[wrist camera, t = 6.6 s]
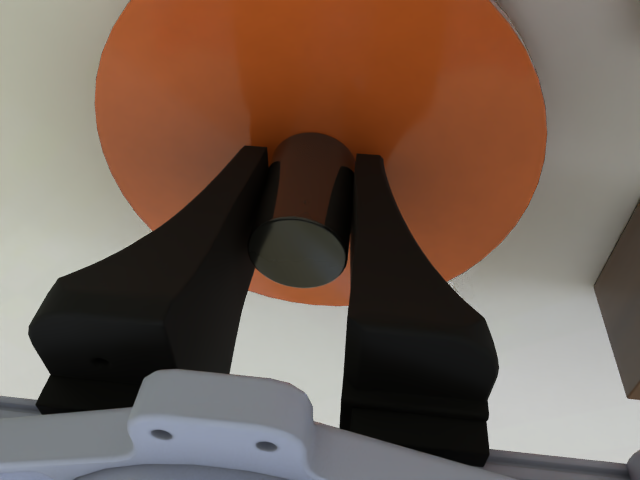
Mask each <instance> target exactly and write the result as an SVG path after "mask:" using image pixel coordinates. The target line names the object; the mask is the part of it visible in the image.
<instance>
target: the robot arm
mask: <svg viewBox="0 0 640 480" xmlns="http://www.w3.org/2000/svg"><path fill="white" fill-rule="evenodd" d="M268 169H269V166H268V152H267V147H261V146H247V145H245V146H244V147H242V148H241V149H240V150H239V152H238V153H237V154H236V155H235V156H234V157H233V158H232V160H231V161H230V162H229V163H228V164H227V165H226V166H225V167H224V169H223V170H222V171H221V172H220V173H219V174H218V175H217V176H216V177H215V178H214V179H213V180H212V181H211V182H210V183H209V184H208V185H207V186H206V187H205V188H204V189H203V190H202V191H201V192H200V193H199V194H198V195H197V196H196V197H195V198H194V199H193V200H192V201H191V202H189V203H188V204H187V205H186V206H185V207H184V208H183V209H182V210H180V211H179V212H178V213H177V214H176V215H174V216H173V217H172V218H171V219H169V220H168V221H167V222H165V223H164V224H163V225H161V226H160V227H158V228H157V229H156V230H154V231H152V232H151V233H149V234H148V235H146V236H144V237H143V238H141V239H140V240H138V241H136V242H135V243H133V244H132V245H130V246H128V247H126V248H125V249H123V250H121V251H119V252H117V253H115V254H113V255H111V256H109V257H107V258H105V259H103V260H101V261H99V262H97V263H95V264H92V265H90V266H88V267H85V268H83V269H80V270H78V271H76V272H73V273H71V274H68V275H66V276H63V277H60V278H58V280H57V281H56V283H55V284H54V285H53V287H52V288H51V290H50V291H49V292H48V294H47V296H46V298H45V299H44V301H43V303H42V304H41V306H40V308H39V309H38V311H37V313H36V315H35V316H34V318H33V320H32V322H31V323H30V325H29V332H28V335H29V337H30V340H31V342H32V344H33V346H34V348H35V350H36V351H37V353H38V355H39V356H40V358H41V359H42V361H43V363H44V364H45V366H46V368H47V369H48V371H49V373H50V374H51V375H50V377H49V379H48V381H47V383H46V385H45V386H44V388H43V390H42V392H41V394H40V396H39V398H38V400H33V399H24V398H15V397H6V396H0V480H640V450H639V451H637V452H636V453H634V454H633V455H632V457H631V458H630V459H629V461H628V462H627V464H622V463H613V462H604V461H595V460H585V459H576V458H567V457H558V456H549V455H539V454H530V453H521V452H512V451H503V450H493V449H489V442H488V433H487V423H486V421H487V420H488V418H489V410H488V398H489V395H490V393H491V391H492V388H493V386H494V383H495V381H496V379H497V376H498V370H499V364H498V357H497V353H496V349H495V346H494V342H493V339H492V336H491V333H490V331H489V328H488V326H487V323H486V321H485V318H484V317H483V316H481V315H480V314H479V313H478V312H477V311H476V310H475V309H473V308H472V307H471V306H470V305H469V304H468V303H467V302H465V301H464V300H463V299H462V298H461V297H460V296H459V295H458V294H457V293H456V292H455V291H454V290H453V289H452V288H451V287H450V285H449V284H448V283H447V282H446V281H445V279H444V278H443V277H442V276H441V275H440V274H439V272H438V271H437V270H436V269H435V268H434V266H433V265H432V264H431V262H430V261H429V260H428V258H427V257H426V255H425V254H424V253H423V251H422V250H421V248H420V247H419V245H418V243H417V242H416V240H415V239H414V237H413V235H412V234H411V232H410V230H409V228H408V226H407V224H406V222H405V221H404V219H403V217H402V215H401V212H400V210H399V208H398V206H397V203H396V201H395V199H394V196H393V194H392V191H391V188H390V185H389V182H388V179H387V176H386V172H385V167H384V160H383V158H382V157H381V156H380V155H372V154H358V153H357V154H356V161H355V169H354V185H353V212H352V224H351V234H350V299H349V307H348V316H347V331H346V346H345V361H344V376H343V387H342V397H341V413H340V429H339V428H336V427H332V426H329V425H325V424H322V423H318V422H315V421H313V406H312V404H311V402H310V400H309V398H308V396H307V395H306V394H305V393H304V392H303V391H301V390H300V389H298V388H297V387H295V386H293V385H292V384H290V383H287V382H283V381H279V380H275V379H271V378H262V377H252V376H242V375H232V374H229V373H230V368H231V362H232V357H233V352H234V347H235V341H236V336H237V332H238V327H239V322H240V317H241V312H242V309H243V305H244V301H245V298H246V295H247V292H248V289H249V286H250V283H251V280H252V277H253V274H254V270H255V266H254V265H253V264H252V262H251V260H250V258H249V255H248V251H247V243H248V238H249V235H250V231H251V228H252V224H253V221H254V217H255V214H256V210H257V207H258V203H259V200H260V197H261V193H262V190H263V186H264V183H265V179H266V176H267V172H268Z"/></svg>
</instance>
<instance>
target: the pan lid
mask: <svg viewBox="0 0 640 480" xmlns="http://www.w3.org/2000/svg"><path fill="white" fill-rule="evenodd" d="M95 112H96V123H97V130H98V134H99V138H100V142H101V146H102V150H103V154H104V156H105V159H106V161H107V164H108V166H109V169H110V171H111V174H112V176H113V177H114V179H115V181H116V183H117V185H118V186H119V188H120V190H121V192H122V194H123V195H124V197H125V198H126V199H127V201H128V202H129V204H130V205H131V206H132V208H133V209H134V211H135V212H136V213H137V215H138V216H139V217H140V218H141V219H142V220H143V221H144V222H145V223H146V225H147V226H148V227H149V228H150V229H151V230H152V231H154V230H156V229H157V228H158V227H160V226H161V225H163V224H164V223H165V222H167V221H168V220H169V219H171V218H172V217H173V216H174V215H176V214H177V213H178V212H179V211H180V210H182V209H183V208H184V207H185V206H186V205H187V204H188V203H189V202H191V201H192V200H193V199H194V198H195V197H196V196H197V195H198V194H199V193H200V192H201V191H202V190H203V189H204V188H205V187H206V186H207V185H208V184H209V183H210V182H211V181H212V180H213V179H214V178H215V177H216V176H217V175H218V174H219V173H220V172H221V171H222V170H223V169H224V167H225V166H226V165H227V164H228V163H229V162H230V161H231V160H232V158H233V157H234V156H235V155H236V154H237V153H238V152H239V150H240V149H241V148H242V147H244V146H245V145H247V146H261V147H267V152H268V166H269V169H268V172H267V176H266V179H265V183H264V186H263V190H262V193H261V197H260V200H259V203H258V207H257V210H256V214H255V217H254V221H253V224H252V228H251V231H250V235H249V238H248V243H247V251H248V255H249V258H250V260H251V262H252V264H253V265H254V266H255V270H254V274H253V277H252V280H251V283H250V286H249V289H248V291H251V292H255V293H258V294H261V295H264V296H268V297H271V298H276V299H280V300H285V301H290V302H296V303H303V304H311V305H325V306H349V299H350V234H351V224H352V212H353V185H354V169H355V161H356V154H357V153H358V154H372V155H380V156H381V157H382V158H383V160H384V167H385V172H386V176H387V179H388V182H389V185H390V188H391V191H392V194H393V196H394V199H395V201H396V203H397V206H398V208H399V210H400V212H401V215H402V217H403V219H404V221H405V222H406V224H407V226H408V228H409V230H410V232H411V234H412V235H413V237H414V239H415V240H416V242H417V243H418V245H419V247H420V248H421V250H422V251H423V253H424V254H425V255H426V257H427V258H428V260H429V261H430V262H431V264H432V265H433V266H434V268H435V269H436V270H437V271H438V272H439V274H440V275H441V276H442V277H443V278H444V279H445V281H446V282H447V281H449V280H451V279H453V278H455V277H456V276H458V275H460V274H462V273H464V272H465V271H467V270H468V269H470V268H471V267H472V266H474V265H475V264H477V263H478V262H480V261H481V260H482V259H484V258H485V257H486V256H487V255H488V254H489V253H490V252H491V251H493V250H494V249H495V248H496V247H497V246H498V245H499V244H500V243H501V242H502V241H503V240H504V239H505V237H506V236H507V235H508V234H509V233H510V232H511V230H512V229H513V228H514V227H515V226H516V224H517V223H518V221H519V219H520V218H521V216H522V215H523V213H524V212H525V210H526V208H527V207H528V205H529V203H530V200H531V198H532V196H533V194H534V191H535V189H536V187H537V185H538V182H539V178H540V175H541V171H542V167H543V163H544V160H545V151H546V141H547V122H546V107H545V103H544V98H543V94H542V90H541V86H540V82H539V78H538V75H537V72H536V69H535V67H534V64H533V62H532V59H531V57H530V55H529V52H528V50H527V48H526V45H525V43H524V41H523V40H522V38H521V37H520V35H519V33H518V32H517V30H516V29H515V27H514V25H513V24H512V22H511V21H510V19H509V18H508V16H507V15H506V14H505V12H504V11H503V10H502V9H501V8H500V7H499V6H498V4H497V3H496V2H495V1H494V0H130V1H129V3H128V4H127V6H126V7H125V9H124V10H123V12H122V13H121V15H120V16H119V18H118V20H117V21H116V23H115V24H114V26H113V27H112V30H111V32H110V35H109V37H108V39H107V42H106V44H105V47H104V49H103V51H102V55H101V59H100V64H99V68H98V72H97V77H96V90H95Z"/></svg>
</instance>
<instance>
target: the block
mask: <svg viewBox="0 0 640 480" xmlns="http://www.w3.org/2000/svg"><path fill="white" fill-rule="evenodd" d="M594 291H595V294H596V297H597V301H598V304H599V307H600V311H601V314H602V317H603V320H604V324H605V327H606V330H607V334H608V337H609V340H610V344H611V347H612V350H613V353H614V357H615V360H616V363H617V367H618V370H619V373H620V377H621V380H622V383H623V386H624V390H625V393H626V396H627V398H628V399H636V400H640V202H639V203H638V205H637V207H636V209H635V211H634V213H633V215H632V217H631V218H630V220H629V222H628V224H627V226H626V228H625V230H624V231H623V233H622V235H621V237H620V239H619V241H618V243H617V245H616V246H615V248H614V250H613V252H612V254H611V256H610V258H609V259H608V261H607V263H606V265H605V267H604V269H603V271H602V273H601V274H600V276H599V278H598V280H597V282H596V284H595V286H594Z"/></svg>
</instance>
